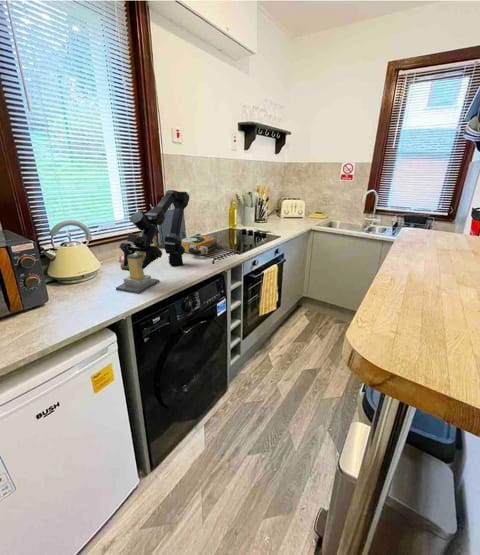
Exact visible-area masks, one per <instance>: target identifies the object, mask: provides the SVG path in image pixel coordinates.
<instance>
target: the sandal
mask: <svg viewBox="0 0 480 555" xmlns="http://www.w3.org/2000/svg"><path fill="white" fill-rule="evenodd" d="M135 253H138V254H140V255H142V263H143V262H144V259H145V257H146V253H145V252H137V251H135ZM119 266H120V268H121V269H122V270H123V269H124V270H125V269H126V270H129V265H127V266H124V260H123V261H122V262H120V265H119Z"/></svg>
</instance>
